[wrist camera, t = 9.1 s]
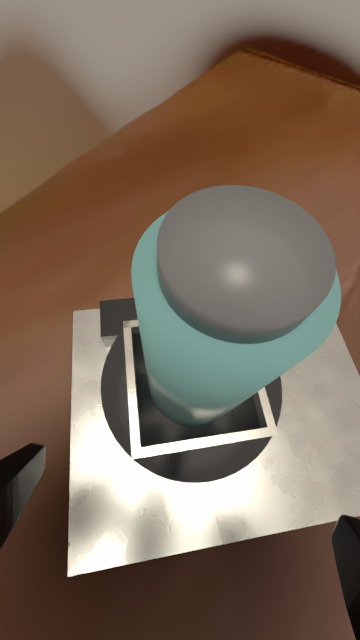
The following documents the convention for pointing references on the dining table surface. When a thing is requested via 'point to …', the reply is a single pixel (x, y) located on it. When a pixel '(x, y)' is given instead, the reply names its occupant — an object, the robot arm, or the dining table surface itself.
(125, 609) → the dining table surface
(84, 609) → the dining table surface
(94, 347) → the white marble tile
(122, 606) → the dining table surface
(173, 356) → the bottle
